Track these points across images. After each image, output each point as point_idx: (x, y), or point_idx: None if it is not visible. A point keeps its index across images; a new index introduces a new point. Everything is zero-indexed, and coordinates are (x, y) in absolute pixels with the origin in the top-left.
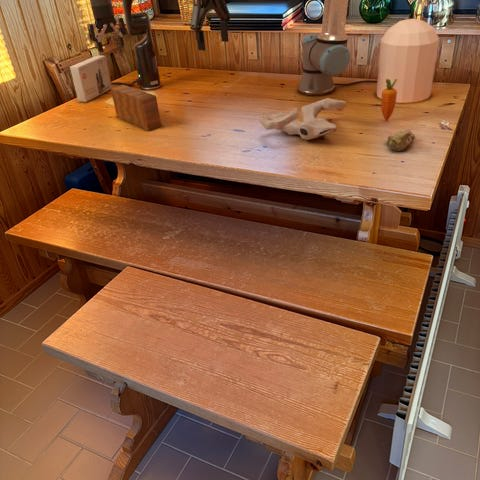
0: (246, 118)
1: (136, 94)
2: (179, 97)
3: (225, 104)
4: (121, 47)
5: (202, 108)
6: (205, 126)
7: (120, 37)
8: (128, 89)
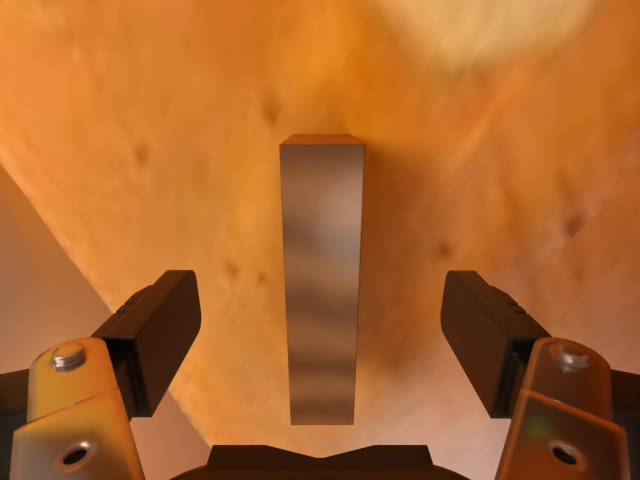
0: None
1: (312, 355)
2: (599, 144)
3: None
4: (443, 313)
5: None
6: (418, 428)
7: (513, 404)
8: (330, 260)
